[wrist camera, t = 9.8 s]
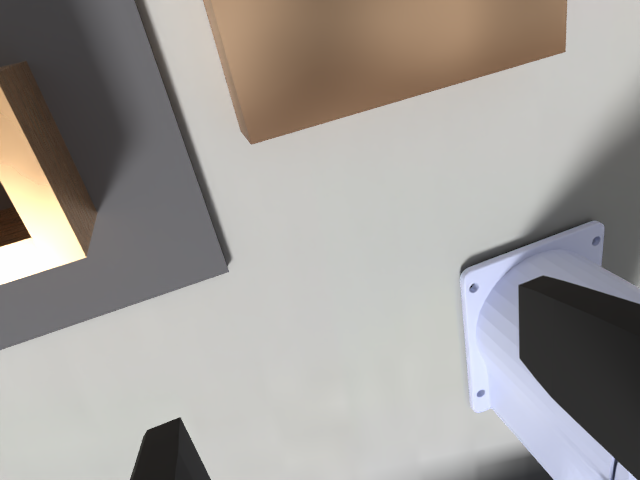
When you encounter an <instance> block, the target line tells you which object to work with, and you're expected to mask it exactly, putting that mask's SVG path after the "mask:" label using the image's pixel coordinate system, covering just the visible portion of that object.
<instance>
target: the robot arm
mask: <svg viewBox="0 0 640 480" xmlns="http://www.w3.org/2000/svg"><path fill="white" fill-rule="evenodd" d="M604 230H605V228H604V225H603V223H600V222H598V221H596V220H594V221H590V222H588V223H585V224H582V225H580V226H577V227H574V228H572V229H569V230H566V231H564V232H561V233H558V234H556V235H553V236H550V237H548V238H545V239H542V240H540V241H537V242H534V243H532V244H529V245H526V246H524V247H521V248H518V249H516V250H513V251H510V252H508V253H505V254H502V255H500V256H497V257H495V258H492V259H489V260H487V261H484V262H481V263H479V264H476V265H473V266H471V267H468V268H466V269H465V270H464V271H463V272H462V274H461V276H460V285H461V297H462V310H463V322H464V334H465V347H466V359H467V371H468V384H469V396H470V406H471V408H472V409H473V411H474V412H476V413H481V412H483V411H486V410H488V409H490V408H492V409H493V410H494V412H495V413H496V414H497V415H498V416H499V417H500V418H501V420H502V421H503V422H504V423H505V424H506V425H507V427H508V428H509V429H510V430H511V431H512V432H513V433H514V435H515V436H516V437H517V438H518V439H519V440H520V441H521V443H522V444H523V445H524V446H525V447H526V448H527V449H528V451H529V452H530V453H531V454H532V455H533V456H534V457H535V459H536V460H537V461H538V462H539V463H540V464H541V465H542V467H543V468H544V469H545V470H546V471H547V472H548V473H549V475H550V476H551V477H552V478H553V479H554V480H640V288H639V287H637V286H635V285H633V284H632V283H630V282H628V281H626V280H624V279H623V278H621V277H619V276H617V275H615V274H614V273H612V272H610V271H608V270H606V269H605V268H603V267H601V266H602V254H603V242H604ZM472 284H474V285H473V286H472V287H471V288H470V286H471V285H472ZM469 288H470V289H469ZM130 480H211V479H210V477H209V475H208V473H207V471H206V469H205V467H204V465H203V463H202V461H201V459H200V457H199V455H198V452H197V450H196V448H195V446H194V444H193V442H192V440H191V438H190V436H189V434H188V432H187V430H186V428H185V426H184V424H183V422H182V420H181V418H177V419H175V420H172V421H169V422H167V423H164V424H162V425H159V426H157V427H154V428H152V429H149V430H147V432H146V433H145V435H144V437H143V440H142V443H141V446H140V450H139V453H138V456H137V459H136V463H135V466H134V469H133V472H132V475H131V478H130Z"/></svg>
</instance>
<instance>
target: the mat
mask: <svg viewBox="0 0 640 480" xmlns="http://www.w3.org/2000/svg"><path fill="white" fill-rule="evenodd" d="M24 61H27V63H28V65H29V68H30V70H31V72H32V74H33V76H34V78H35V80H36V83H37V85H38V87H39V89H40V91H41V93H42V95H43V98H44V100H45V102H46V104H47V106H48V108H49V110H50V112H51V115H52V117H53V119H54V121H55V123H56V125H57V127H58V130H59V132H60V134H61V136H62V138H63V140H64V142H65V145H66V147H67V149H68V151H69V153H70V155H71V157H72V160H73V162H74V164H75V166H76V168H77V170H78V172H79V175H80V177H81V179H82V181H83V183H84V185H85V187H86V190H87V192H88V194H89V196H90V198H91V200H92V202H93V205H94V207H95V209H96V211H97V217H96V221H95V225H94V229H93V233H92V237H91V241H90V245H89V249H88V253H87V257H86V258H83V259H80V260H76V261H73V262H70V263H67V264H64V265H61V266H57V267H54V268H51V269H48V270H45V271H42V272H39V273H35V274H32V275H29V276H26V277H23V278H20V279H16V280H13V281H10V282H7V283H4V284H1V285H0V350H2V349H5V348H8V347H11V346H13V345H16V344H19V343H22V342H25V341H28V340H31V339H34V338H37V337H40V336H43V335H46V334H49V333H51V332H54V331H57V330H60V329H63V328H66V327H69V326H72V325H75V324H78V323H81V322H84V321H87V320H89V319H92V318H95V317H98V316H101V315H104V314H107V313H110V312H113V311H116V310H119V309H122V308H125V307H127V306H130V305H133V304H136V303H139V302H142V301H145V300H148V299H151V298H154V297H157V296H160V295H163V294H165V293H168V292H171V291H174V290H177V289H180V288H183V287H186V286H189V285H192V284H195V283H198V282H201V281H203V280H206V279H209V278H212V277H215V276H218V275H221V274H224V273H227V272H229V270H228V267H227V264H226V261H225V259H224V256H223V253H222V250H221V247H220V244H219V241H218V239H217V236H216V233H215V230H214V227H213V224H212V221H211V218H210V216H209V213H208V210H207V207H206V204H205V201H204V198H203V195H202V193H201V190H200V187H199V184H198V181H197V178H196V175H195V173H194V170H193V167H192V164H191V161H190V158H189V155H188V152H187V150H186V147H185V144H184V141H183V138H182V135H181V132H180V129H179V127H178V124H177V121H176V118H175V115H174V112H173V109H172V107H171V104H170V101H169V98H168V95H167V92H166V89H165V86H164V84H163V81H162V78H161V75H160V72H159V69H158V66H157V63H156V61H155V58H154V55H153V52H152V49H151V46H150V43H149V41H148V38H147V35H146V32H145V29H144V26H143V23H142V20H141V18H140V15H139V12H138V9H137V6H136V3H135V0H0V67H3V66H7V65H12V64H16V63H20V62H24ZM11 207H15V206H14V205H13V203H12V201H11V199H10V197H9V196H8V194H7V192H6V190H5V188H4V187H3V185H2V183H1V181H0V211H1V210H4V209H8V208H11Z"/></svg>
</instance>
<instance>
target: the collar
mask: <svg viewBox="0 0 640 480" xmlns="http://www.w3.org/2000/svg"><path fill="white" fill-rule="evenodd" d="M0 181H1V183H2V185H3V187H4V188H5V190H6V192H7V194H8V196H9V197H10V199H11V201H12V203H13V205H14V206H15V207H11V208H8V209H4V210H1V211H0V285H1V284H4V283H7V282H10V281H13V280H16V279H20V278H23V277H26V276H29V275H32V274H35V273H39V272H42V271H45V270H48V269H51V268H54V267H57V266H61V265H64V264H67V263H70V262H73V261H76V260H80V259H83V258H86V257H87V253H88V249H89V245H90V241H91V237H92V233H93V229H94V225H95V221H96V217H97V211H96V209H95V207H94V205H93V202H92V200H91V198H90V196H89V194H88V192H87V190H86V187H85V185H84V183H83V181H82V179H81V177H80V175H79V172H78V170H77V168H76V166H75V164H74V162H73V160H72V157H71V155H70V153H69V151H68V149H67V147H66V145H65V142H64V140H63V138H62V136H61V134H60V132H59V130H58V127H57V125H56V123H55V121H54V119H53V117H52V115H51V112H50V110H49V108H48V106H47V104H46V102H45V100H44V98H43V95H42V93H41V91H40V89H39V87H38V85H37V83H36V80H35V78H34V76H33V74H32V72H31V70H30V68H29V65H28V63H27V61H24V62H20V63H16V64H12V65H7V66H3V67H0Z"/></svg>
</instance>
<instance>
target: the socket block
mask: <svg viewBox="0 0 640 480" xmlns="http://www.w3.org/2000/svg"><path fill="white" fill-rule="evenodd" d="M203 2H204V5H205V9H206V12H207V16H208V19H209V22H210V26H211V29H212V33H213V36H214V40H215V43H216V47H217V50H218V54H219V57H220V61H221V64H222V68H223V71H224V75H225V78H226V82H227V85H228V88H229V92H230V95H231V99H232V102H233V106H234V109H235V113H236V116H237V120H238V123H239V127H240V130H241V132H242V134H243V135H244V136H245V137H246V139H247V140H248V141H249V142H250V144H255V143H258V142H262V141H265V140H268V139H272V138H275V137H279V136H282V135H285V134H289V133H292V132H295V131H299V130H302V129H306V128H309V127H312V126H316V125H319V124H323V123H326V122H329V121H333V120H336V119H340V118H343V117H346V116H350V115H353V114H356V113H360V112H363V111H367V110H370V109H373V108H377V107H380V106H384V105H387V104H390V103H394V102H397V101H401V100H404V99H407V98H411V97H414V96H417V95H421V94H424V93H428V92H431V91H434V90H438V89H441V88H445V87H448V86H451V85H455V84H458V83H462V82H465V81H468V80H472V79H475V78H478V77H482V76H485V75H489V74H492V73H495V72H499V71H502V70H506V69H509V68H512V67H516V66H519V65H523V64H526V63H529V62H533V61H536V60H539V59H543V58H546V57H550V56H553V55H556V54H560V53H563V52H565V48H566V18H567V0H203Z"/></svg>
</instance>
